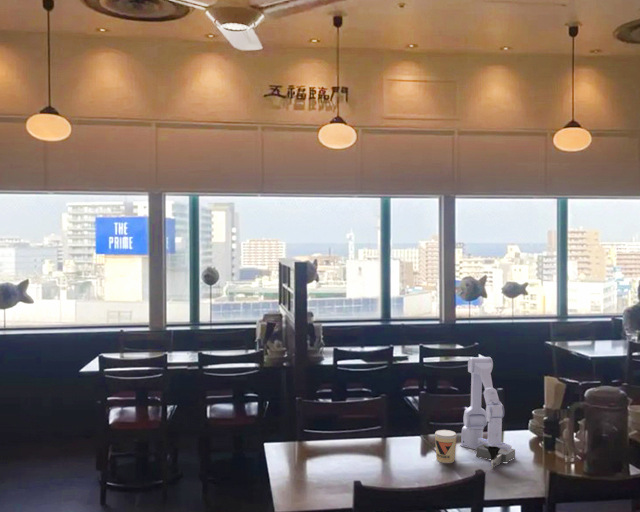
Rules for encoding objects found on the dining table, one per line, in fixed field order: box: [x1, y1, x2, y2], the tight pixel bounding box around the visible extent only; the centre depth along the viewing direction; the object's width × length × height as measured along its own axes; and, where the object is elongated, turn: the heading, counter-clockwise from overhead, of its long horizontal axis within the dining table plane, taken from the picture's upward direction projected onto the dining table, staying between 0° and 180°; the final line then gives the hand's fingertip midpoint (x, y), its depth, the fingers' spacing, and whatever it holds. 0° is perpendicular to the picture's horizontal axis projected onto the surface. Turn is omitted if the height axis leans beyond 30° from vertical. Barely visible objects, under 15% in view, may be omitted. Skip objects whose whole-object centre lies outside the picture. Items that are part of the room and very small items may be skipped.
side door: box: [490, 454, 502, 469], centre depth 269 cm, size 9×1×4 cm, turn 141°
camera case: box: [475, 444, 516, 463], centre depth 280 cm, size 14×9×5 cm, turn 48°
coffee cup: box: [434, 429, 457, 464], centre depth 277 cm, size 9×9×12 cm
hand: (494, 463), depth 269 cm, fingers closed, pressing on side door
